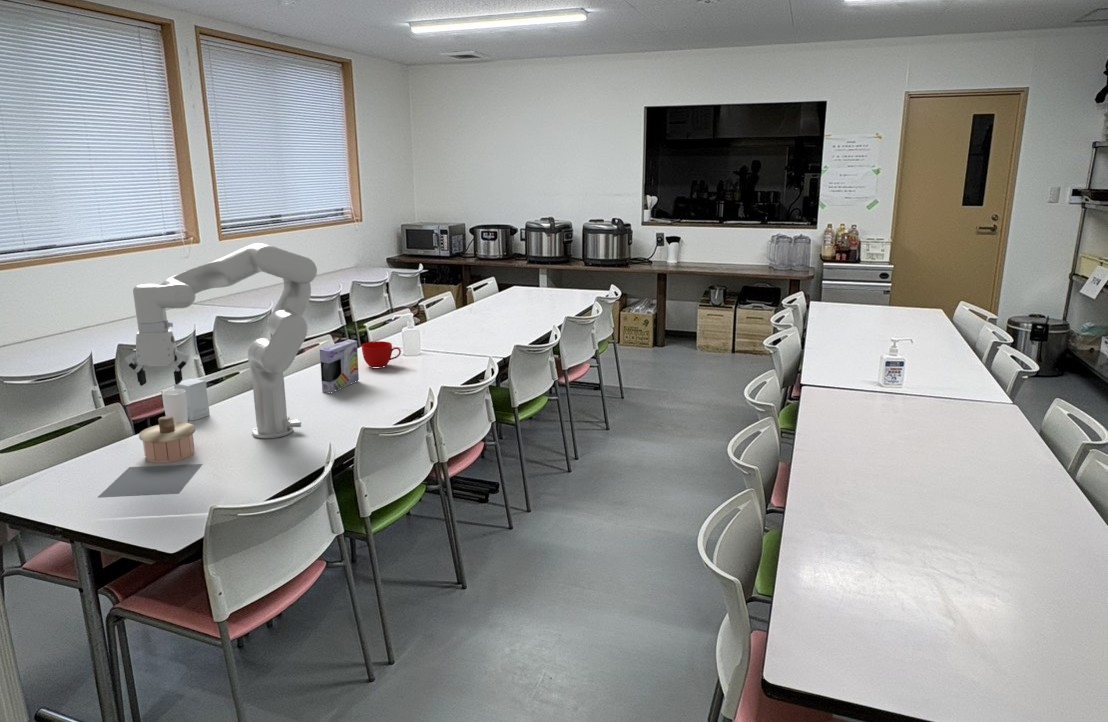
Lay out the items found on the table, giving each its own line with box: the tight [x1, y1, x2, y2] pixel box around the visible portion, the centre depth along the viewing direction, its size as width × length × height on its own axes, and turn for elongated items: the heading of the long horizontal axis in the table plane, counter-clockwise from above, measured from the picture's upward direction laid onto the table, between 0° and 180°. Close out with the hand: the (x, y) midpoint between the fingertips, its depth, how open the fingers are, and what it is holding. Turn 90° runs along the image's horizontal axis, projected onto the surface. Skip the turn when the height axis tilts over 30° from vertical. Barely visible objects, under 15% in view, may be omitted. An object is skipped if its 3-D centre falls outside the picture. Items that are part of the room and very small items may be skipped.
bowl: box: [142, 433, 196, 464], centre depth 216 cm, size 13×13×7 cm
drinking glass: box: [161, 388, 189, 423], centre depth 231 cm, size 7×7×15 cm
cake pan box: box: [319, 338, 360, 394], centre depth 285 cm, size 19×5×18 cm, turn 158°
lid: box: [138, 415, 196, 443], centre depth 215 cm, size 15×15×5 cm
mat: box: [97, 463, 203, 498], centre depth 199 cm, size 20×20×1 cm
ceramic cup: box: [361, 340, 402, 368], centre depth 317 cm, size 13×17×10 cm
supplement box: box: [173, 377, 210, 421], centre depth 250 cm, size 7×7×13 cm
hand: (160, 383), depth 212 cm, fingers open, 9 cm apart
